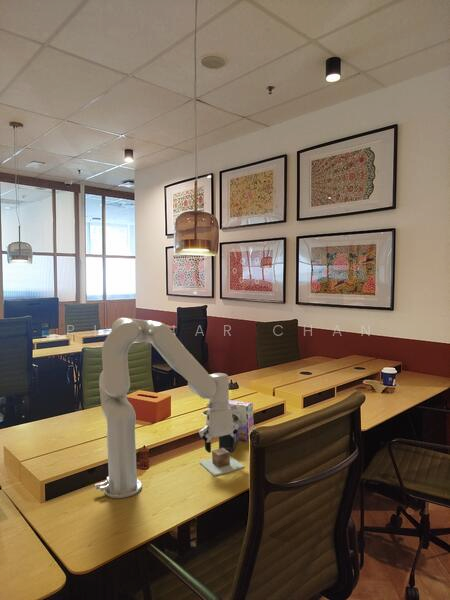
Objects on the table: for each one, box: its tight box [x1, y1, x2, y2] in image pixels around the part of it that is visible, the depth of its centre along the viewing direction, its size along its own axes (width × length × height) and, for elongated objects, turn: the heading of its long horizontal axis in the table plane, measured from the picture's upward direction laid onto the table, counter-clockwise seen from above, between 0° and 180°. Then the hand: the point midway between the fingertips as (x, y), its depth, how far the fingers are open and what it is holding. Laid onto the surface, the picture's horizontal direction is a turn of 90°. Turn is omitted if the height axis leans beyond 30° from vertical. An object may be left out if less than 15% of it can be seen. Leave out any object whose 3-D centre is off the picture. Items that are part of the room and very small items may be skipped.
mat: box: [199, 455, 245, 477], centre depth 159 cm, size 13×13×1 cm
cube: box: [211, 448, 231, 468], centre depth 159 cm, size 5×5×5 cm
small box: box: [218, 420, 238, 453], centre depth 176 cm, size 11×6×10 cm, turn 168°
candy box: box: [229, 399, 255, 443], centre depth 187 cm, size 14×6×16 cm, turn 58°
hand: (219, 448), depth 159 cm, fingers open, 9 cm apart
